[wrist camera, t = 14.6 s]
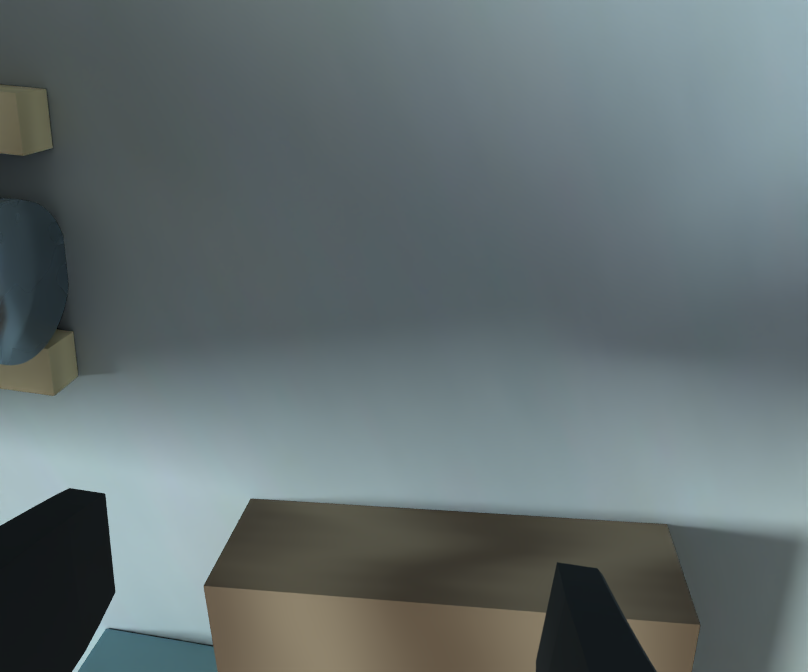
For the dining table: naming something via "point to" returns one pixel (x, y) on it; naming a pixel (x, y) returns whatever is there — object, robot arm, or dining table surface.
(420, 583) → the slab
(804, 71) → the dining table surface
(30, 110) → the roller rack
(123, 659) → the bar
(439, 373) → the dining table surface
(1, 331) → the roller
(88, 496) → the robot arm
